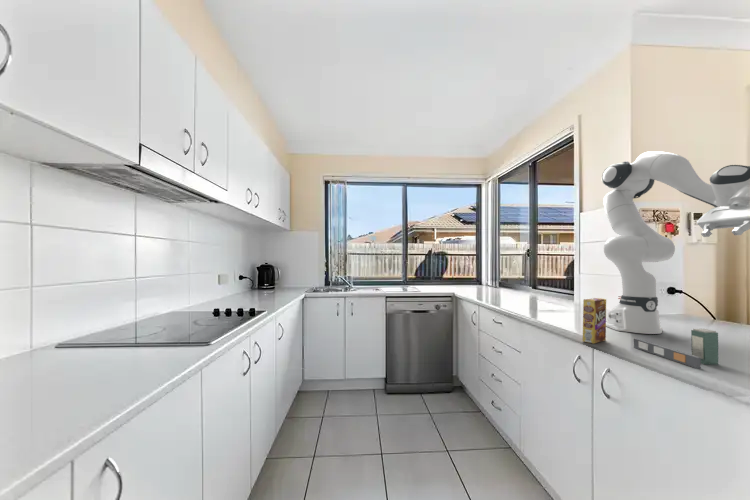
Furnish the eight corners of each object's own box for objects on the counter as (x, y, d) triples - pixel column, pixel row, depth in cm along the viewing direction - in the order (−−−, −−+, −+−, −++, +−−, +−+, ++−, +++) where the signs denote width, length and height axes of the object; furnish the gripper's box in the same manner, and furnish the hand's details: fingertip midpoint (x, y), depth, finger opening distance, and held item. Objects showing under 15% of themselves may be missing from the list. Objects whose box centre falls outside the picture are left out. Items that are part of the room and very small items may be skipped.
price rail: (633, 347, 119) (633, 338, 119) (637, 347, 119) (637, 338, 119) (695, 368, 97) (695, 357, 97) (700, 368, 97) (700, 357, 97)
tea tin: (691, 360, 104) (690, 328, 104) (704, 360, 104) (704, 328, 104) (704, 364, 100) (704, 331, 100) (718, 364, 100) (718, 331, 100)
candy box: (595, 344, 123) (594, 300, 123) (582, 341, 127) (581, 299, 127) (607, 340, 128) (606, 298, 128) (594, 338, 131) (593, 297, 132)
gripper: (708, 201, 120) (681, 229, 119) (780, 190, 99) (748, 224, 99) (721, 214, 120) (694, 243, 119) (795, 206, 100) (763, 240, 99)
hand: (719, 234), depth 109 cm, fingers open, 8 cm apart
